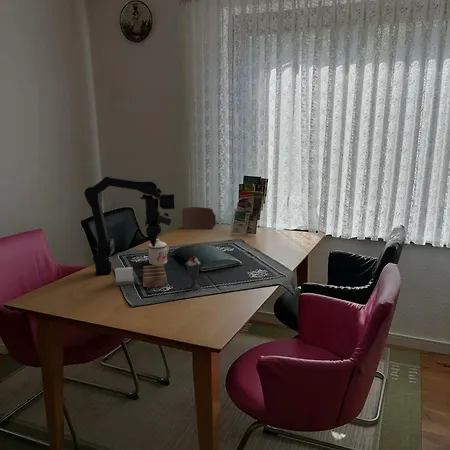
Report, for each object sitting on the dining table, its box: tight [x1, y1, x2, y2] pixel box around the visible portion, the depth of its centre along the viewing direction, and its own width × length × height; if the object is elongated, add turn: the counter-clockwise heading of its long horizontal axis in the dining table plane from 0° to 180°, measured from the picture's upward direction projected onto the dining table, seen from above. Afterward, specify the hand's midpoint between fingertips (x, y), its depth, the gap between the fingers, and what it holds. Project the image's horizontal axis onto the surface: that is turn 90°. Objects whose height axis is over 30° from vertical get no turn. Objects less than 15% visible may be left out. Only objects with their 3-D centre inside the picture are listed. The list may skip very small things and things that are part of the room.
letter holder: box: [181, 206, 217, 230], centre depth 273 cm, size 10×20×14 cm, turn 81°
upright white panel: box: [114, 266, 134, 282], centre depth 180 cm, size 7×2×6 cm, turn 101°
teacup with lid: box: [147, 238, 169, 266], centre depth 206 cm, size 12×9×12 cm
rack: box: [142, 264, 169, 288], centre depth 182 cm, size 10×15×4 cm, turn 11°
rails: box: [114, 277, 136, 286], centre depth 180 cm, size 8×5×1 cm, turn 101°
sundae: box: [184, 254, 202, 290], centre depth 173 cm, size 7×7×15 cm
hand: (153, 243), depth 190 cm, fingers open, 9 cm apart
